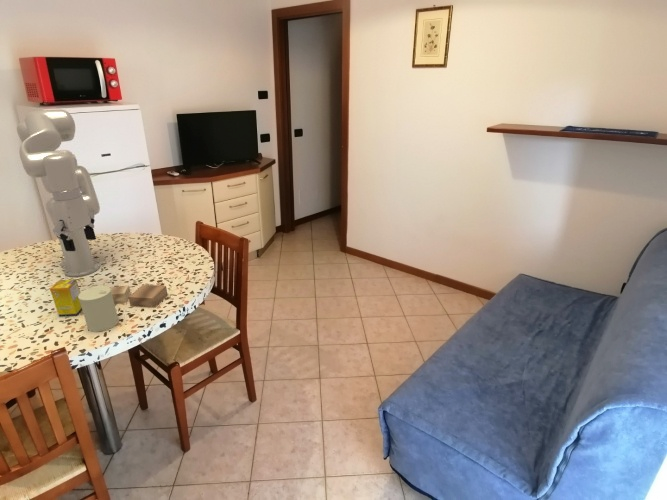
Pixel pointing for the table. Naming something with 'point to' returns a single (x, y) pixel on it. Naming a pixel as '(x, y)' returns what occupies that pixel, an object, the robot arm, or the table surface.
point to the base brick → (148, 296)
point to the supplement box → (66, 297)
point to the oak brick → (120, 294)
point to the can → (98, 308)
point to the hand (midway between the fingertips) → (81, 245)
